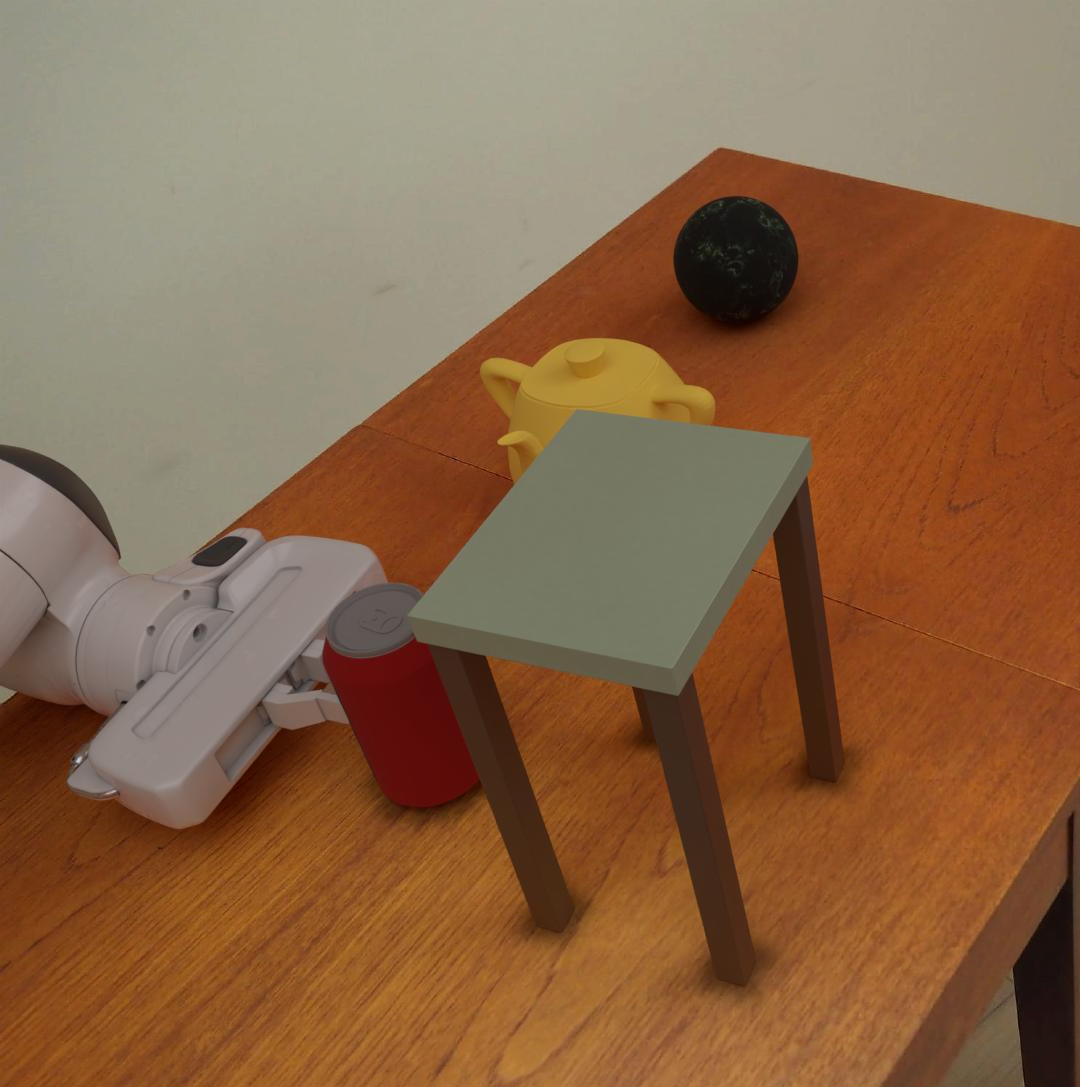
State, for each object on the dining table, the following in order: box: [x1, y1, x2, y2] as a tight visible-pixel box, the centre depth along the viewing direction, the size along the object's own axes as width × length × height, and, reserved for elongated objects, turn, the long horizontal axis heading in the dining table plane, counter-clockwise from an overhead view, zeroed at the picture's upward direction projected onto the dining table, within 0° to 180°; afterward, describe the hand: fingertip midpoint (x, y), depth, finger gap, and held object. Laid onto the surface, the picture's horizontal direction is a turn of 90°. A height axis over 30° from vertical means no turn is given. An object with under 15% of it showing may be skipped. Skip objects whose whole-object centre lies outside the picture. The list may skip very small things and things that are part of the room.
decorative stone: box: [672, 195, 799, 325], centre depth 110 cm, size 10×10×10 cm
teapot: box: [479, 337, 716, 486], centre depth 93 cm, size 14×14×12 cm
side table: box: [407, 409, 846, 988], centre depth 65 cm, size 15×12×22 cm
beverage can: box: [322, 582, 480, 808], centre depth 75 cm, size 7×7×12 cm
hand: (362, 696), depth 76 cm, fingers closed, pressing on beverage can
